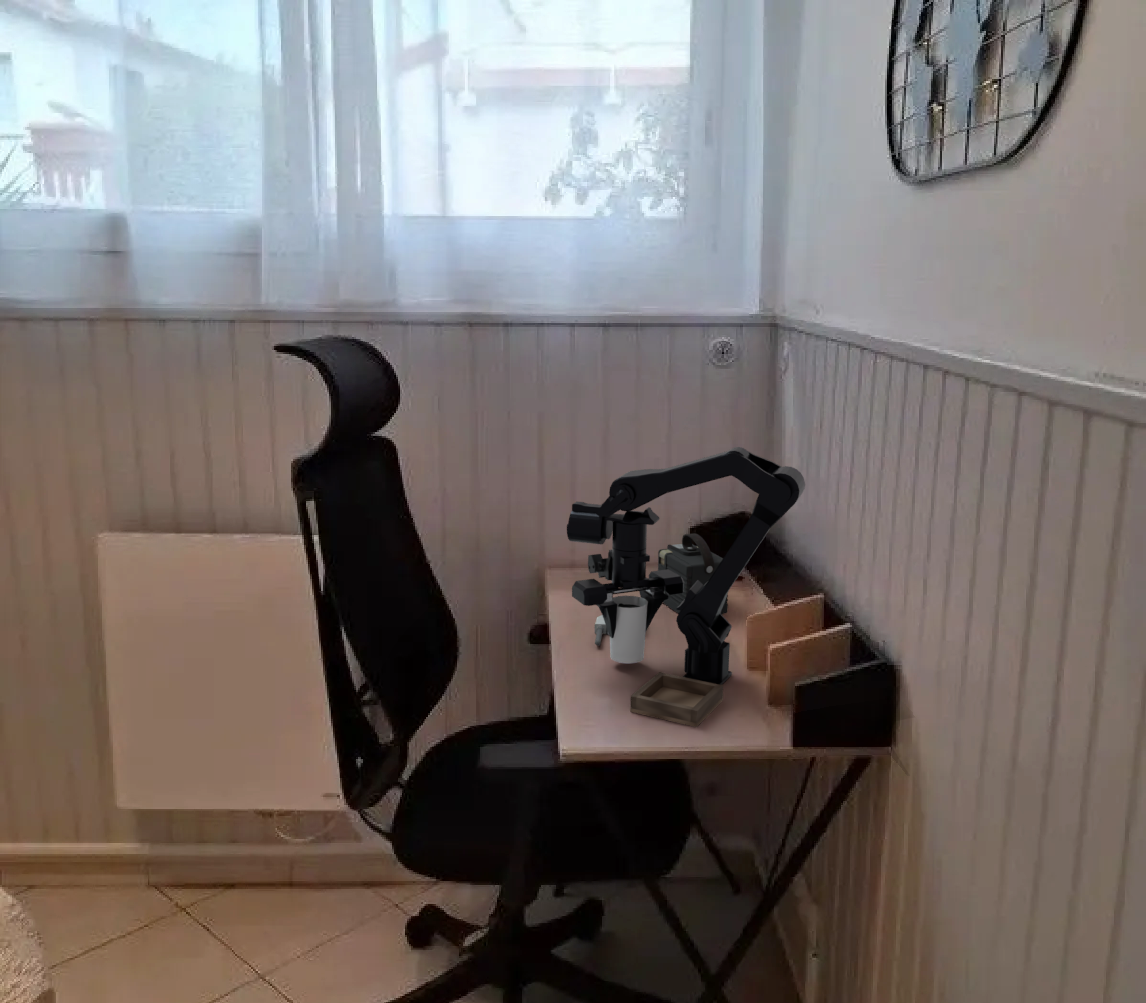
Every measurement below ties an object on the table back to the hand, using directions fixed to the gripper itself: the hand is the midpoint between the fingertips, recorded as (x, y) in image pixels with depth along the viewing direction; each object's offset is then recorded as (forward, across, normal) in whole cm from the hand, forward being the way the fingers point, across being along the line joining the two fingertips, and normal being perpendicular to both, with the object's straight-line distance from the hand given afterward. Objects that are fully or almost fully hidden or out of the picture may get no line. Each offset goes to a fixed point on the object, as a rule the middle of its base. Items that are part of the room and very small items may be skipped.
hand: (627, 635), depth 179 cm
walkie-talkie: (+6, -6, -16) cm, 19 cm away
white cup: (+4, 0, 0) cm, 4 cm away
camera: (+6, -26, -23) cm, 36 cm away
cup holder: (+6, 0, +18) cm, 19 cm away
